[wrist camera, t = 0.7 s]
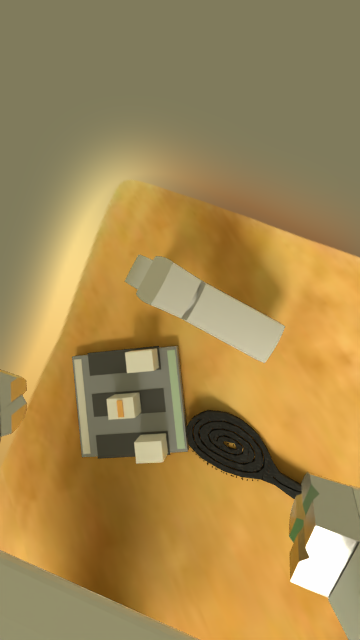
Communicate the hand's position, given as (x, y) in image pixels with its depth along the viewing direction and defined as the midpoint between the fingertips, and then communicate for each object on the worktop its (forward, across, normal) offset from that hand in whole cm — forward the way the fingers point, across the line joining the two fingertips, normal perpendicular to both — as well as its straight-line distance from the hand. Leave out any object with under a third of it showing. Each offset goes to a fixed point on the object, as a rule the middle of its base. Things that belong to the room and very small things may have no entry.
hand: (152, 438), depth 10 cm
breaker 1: (+35, -13, -26) cm, 45 cm away
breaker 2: (+37, -12, -20) cm, 44 cm away
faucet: (+43, -5, -11) cm, 45 cm away
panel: (+36, -13, -27) cm, 47 cm away
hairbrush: (+36, +9, -31) cm, 49 cm away
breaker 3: (+33, -7, -31) cm, 46 cm away
